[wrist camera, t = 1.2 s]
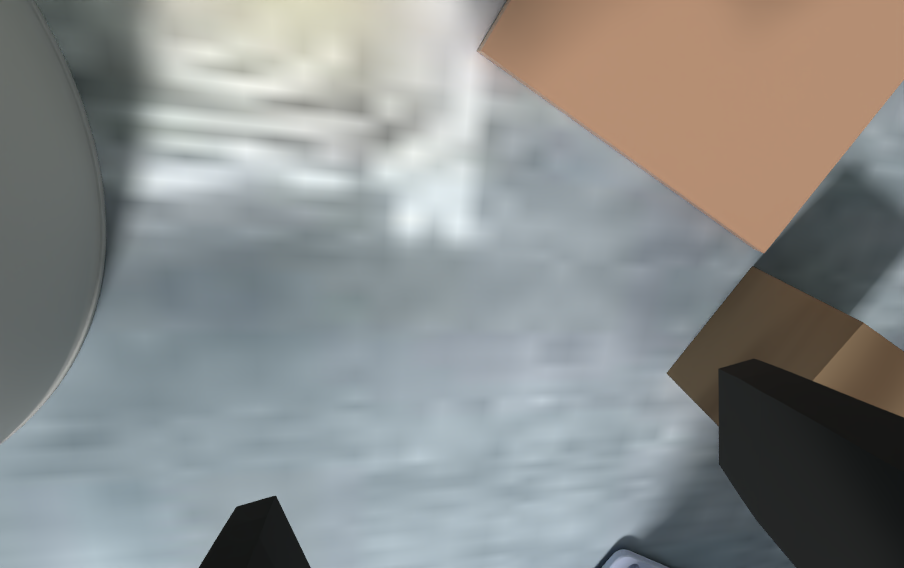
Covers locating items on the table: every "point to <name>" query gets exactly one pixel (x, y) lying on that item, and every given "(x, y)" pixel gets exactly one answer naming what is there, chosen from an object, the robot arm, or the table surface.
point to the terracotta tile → (713, 89)
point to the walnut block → (790, 346)
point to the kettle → (43, 216)
